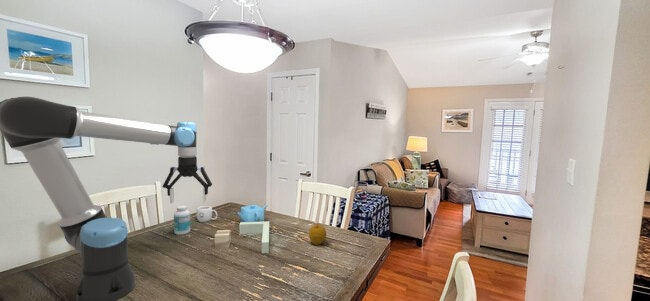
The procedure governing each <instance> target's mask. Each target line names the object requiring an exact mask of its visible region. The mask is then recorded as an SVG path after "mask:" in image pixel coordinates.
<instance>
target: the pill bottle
mask: <svg viewBox="0 0 650 301" xmlns="http://www.w3.org/2000/svg"><path fill="white" fill-rule="evenodd" d="M173 230H174V235H175V234H176V235H181V236H182V235H185V234H188V233H190V232H191V210H188V206H187V205H178V206H176V211H175V212H174V213H173Z"/></svg>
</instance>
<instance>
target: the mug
mask: <svg viewBox="0 0 650 301" xmlns="http://www.w3.org/2000/svg"><path fill="white" fill-rule="evenodd" d="M195 212H196V213H195V214H196V218H197V220H198V221H199V222H200V223H206V222H209V221H211V220H213V221H214V220H217V218H218V215H219V214H218V212H217V210H215V209H213V206H211V205H202V206H201V205H200V206H198V207H197V208H196V210H195ZM213 212H214V213H215V215H216V217H214V218H213V217H212V216H213Z"/></svg>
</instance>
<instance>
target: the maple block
mask: <svg viewBox="0 0 650 301" xmlns="http://www.w3.org/2000/svg"><path fill="white" fill-rule="evenodd" d="M231 232H232V231H231V229H223V230H222V229H221V230H217V231H216V233H215V235H214V249H224V248H230V245H231V242H232V241H231V240H232V239H231V236H232V234H231Z"/></svg>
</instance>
